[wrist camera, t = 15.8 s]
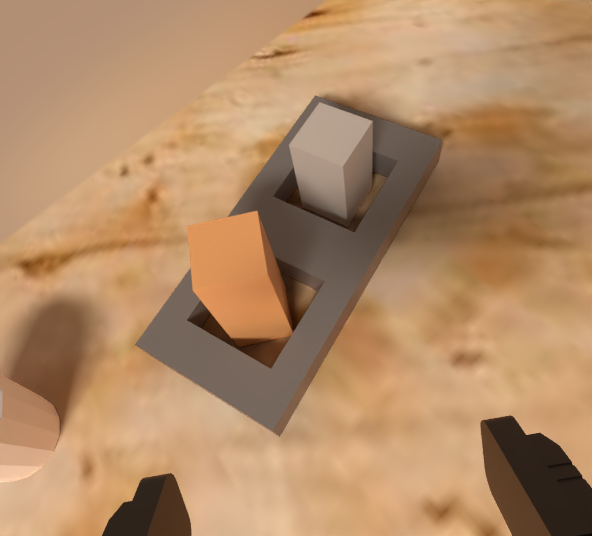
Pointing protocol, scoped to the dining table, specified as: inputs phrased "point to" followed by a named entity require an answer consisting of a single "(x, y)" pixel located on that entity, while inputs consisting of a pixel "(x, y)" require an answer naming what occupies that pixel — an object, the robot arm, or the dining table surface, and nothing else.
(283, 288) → the plug
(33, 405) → the shot glass
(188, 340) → the grey block holder
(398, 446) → the dining table surface
